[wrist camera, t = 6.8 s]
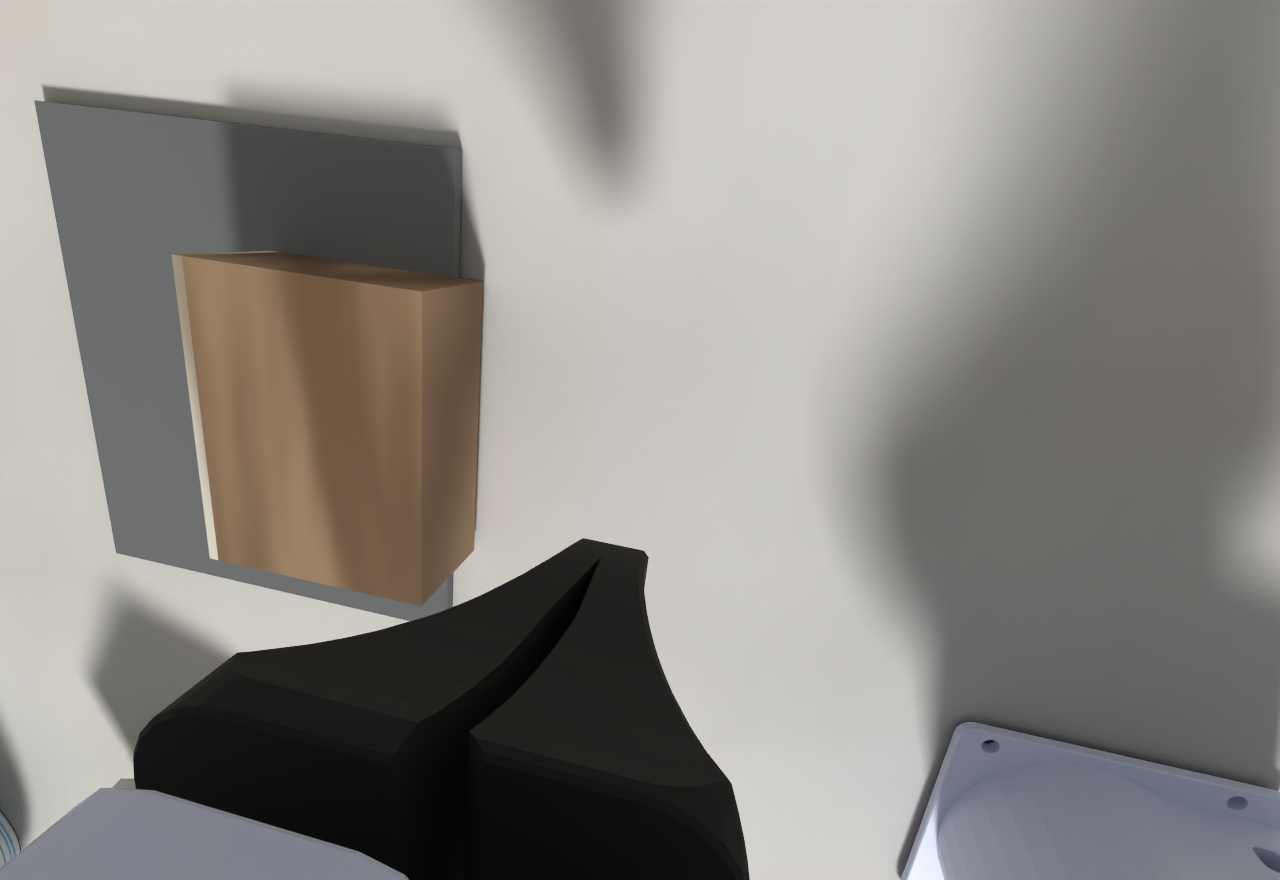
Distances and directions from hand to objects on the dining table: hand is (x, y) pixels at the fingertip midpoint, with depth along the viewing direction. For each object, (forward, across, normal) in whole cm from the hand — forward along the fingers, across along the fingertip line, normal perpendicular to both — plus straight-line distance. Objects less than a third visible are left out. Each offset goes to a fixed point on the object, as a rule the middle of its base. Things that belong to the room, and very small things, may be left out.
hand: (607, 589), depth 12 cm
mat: (+8, +14, 0) cm, 16 cm away
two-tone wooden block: (+6, +6, 0) cm, 8 cm away
